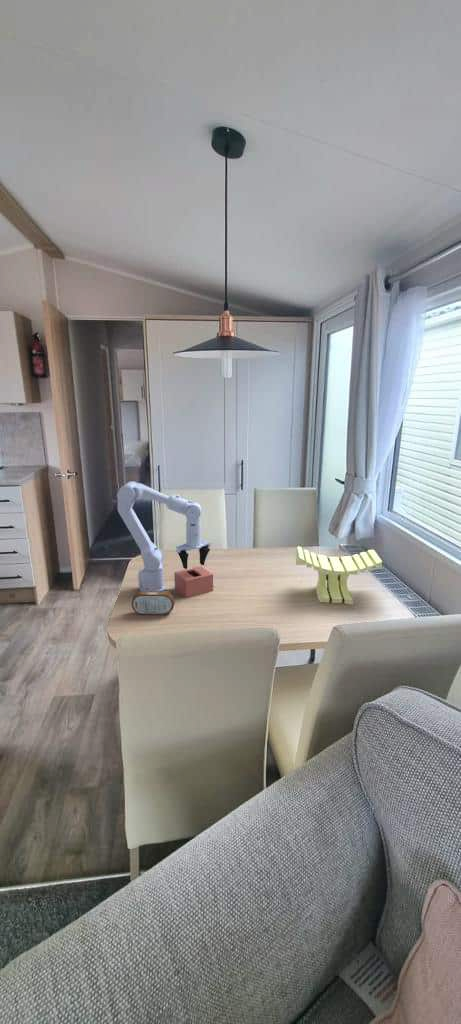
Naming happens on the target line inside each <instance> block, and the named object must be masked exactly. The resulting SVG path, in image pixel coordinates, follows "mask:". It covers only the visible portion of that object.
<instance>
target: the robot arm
mask: <svg viewBox="0 0 461 1024" xmlns="http://www.w3.org/2000/svg"><path fill="white" fill-rule="evenodd" d="M116 498H117V512H118V514H119V516H120V518H122V521H123V522H124V524H125V526H126V528H127V529H128V531H129V533H130V534H131V536H132V538H133V539H134V542H135V543H136V545H137V547H138V548H139V549H140V556H141V558H142V560H143V561H142V562H143V566H144V568H143V569H141V570H139V571H138V574H137V575H138V588H137V589H139V590H140V591H167V590H168V588H167V586H165V585H164V566H163V564H162V561H163V559H164V553H163V551H162V550H161V549H160V548H158V547H157V545H156V544H155V543H154V542H152V541H151V539H150V537H149V535H148V533H147V531H146V530H145V528H144V527H143V525H142V523H141V520H140V519H139V518H138V516H137V514H136V512H135V510H134V509H133V507H134V504H135V501H136V500H140V499H145V498H146V499H150V500H152V501H156V502H157V503H161V504H164V505H166V507H167V509H168V510H170V511H173V512H176V513H178V514H180V515H183V516H185V517H186V523H185V529H186V530H185V534H186V535H185V541H186V542H185V543H184V544H181V545H178V546H176V547H175V552H176V553H177V554H178V556H179V557H180V561H181V563H182V568H183V570H187V569H188V560H189V559H188V558H189V553H187V551H191V550H198V551H199V552H198V553H199V564H200V565H201V566H205V563H206V559H207V556H208V555H209V552H210V551H211V548H210V547H212V546H211V545H212V543H211V541H210V540H204V541H203V540H202V522H201V517H202V516H201V513H202V506H201V504H200V503H198V502H197V501H193V500H191V499H189V500H187V499H186V498H183V497H181V495H179V494H176V495H175V494H172V495H166V494H165V493H163V492H160V491H158V490H155V489H154V488H152V487H149V486H147V485H145V484H143V483H139V482H136V481H134V480H131V481H128V482H126V484H125V485H122V486H121V487H120V488H119V490H118V492H117V495H116Z"/></svg>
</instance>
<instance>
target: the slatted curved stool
mask: <svg viewBox="0 0 461 1024" xmlns="http://www.w3.org/2000/svg"><path fill="white" fill-rule="evenodd" d="M295 564H296V566H298V565H299V566H306V568H311V569H312V568H313V570H314V571H317V575H318V576H317V577H318V579H317V582H316V586H315V590H316V589H317V592H318V596H319V599H318V601H319V600H320V602H329V603H331V604H335V603H342V602H344V603H353V602H354V601H352V600H353V599H352V596H350V595H351V594H350V591H349V589H348V578H349V576H350V575H358V571H359V573H366V570H367V571H374V569H382V567H383V560H382V558H380V556H379V555H378V553H377V552H376V551H375V549H368V550H367V551H362V552H359V553H355V554H352V556H351V555H348V556H347V555H346V556H328V557H327V555H322V554H317V555H316V553H315V552H313V551H310V552H309V550H307V549H304V548H302V546H296V552H295ZM374 567H375V568H374ZM327 589H328V590H327ZM317 592H316V593H317ZM328 592H329V593H328ZM340 593H341V594H340ZM329 595H330V596H329ZM318 596H317V597H318ZM341 596H342V597H341ZM344 603H342V604H344ZM352 605H355V602H354V603H353V604H352Z"/></svg>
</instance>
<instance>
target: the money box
mask: <svg viewBox="0 0 461 1024" xmlns="http://www.w3.org/2000/svg"><path fill="white" fill-rule="evenodd" d="M173 573H174V589H175V590H176V591H177V592H178V593H180V594H181V595H182V596H183V597H184V598H191V597H195V596H198V595H202V594H206V593H210V592H213V591H214V574H213V573H212V572H210V571H208V570H207V569H205V568H204V567H202V565H201V566H196V567H192V568H187V569H183V570H178V571H174V572H173ZM193 576H194V577H193Z"/></svg>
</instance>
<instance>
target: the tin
mask: <svg viewBox="0 0 461 1024" xmlns="http://www.w3.org/2000/svg"><path fill="white" fill-rule="evenodd" d="M175 602H176V600H175V597H174V596H173V594H171V593H170V592H169V591H167V590H164V591H141V590H140V591H138V592H136V593H134V595H132V599H131V607H132V610H133V611H134V612H135V613H137V615H142V614H144V615H146V614H147V615H150V616H151V615H153V616H159V615H160V616H161V615H162V616H164V615H168V614H170V613H171V612H172V611H173V610H174V606H175V604H176V603H175ZM147 615H146V616H147Z"/></svg>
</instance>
